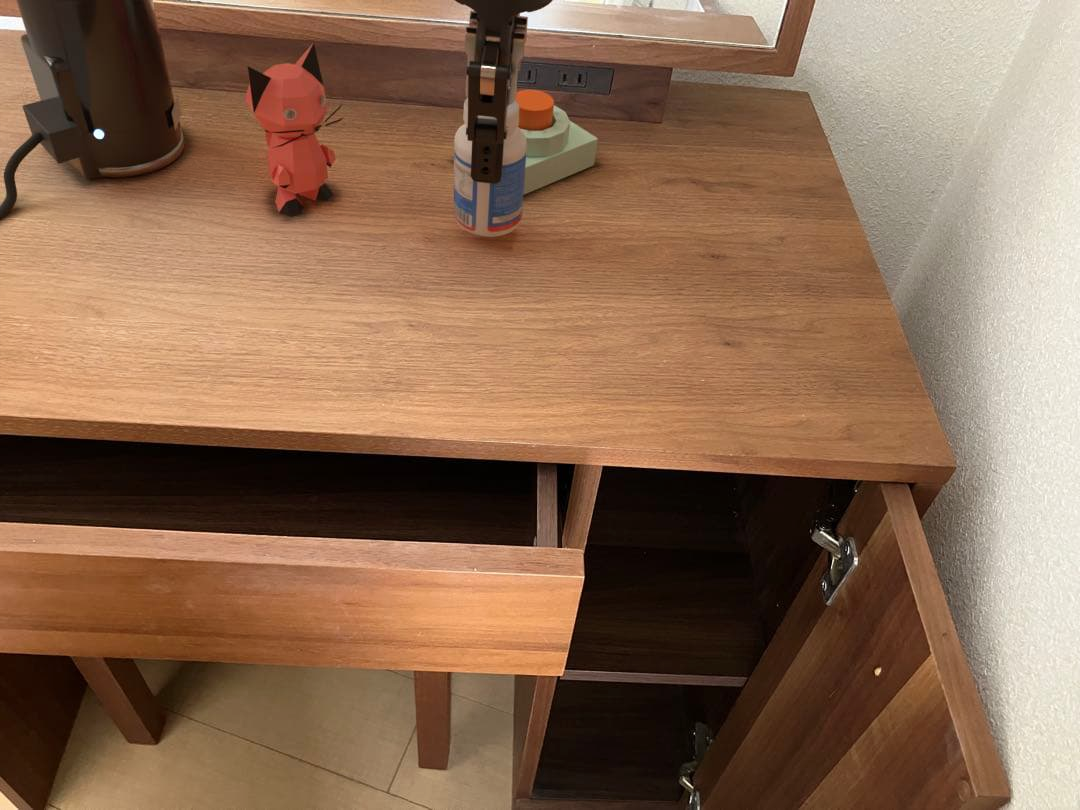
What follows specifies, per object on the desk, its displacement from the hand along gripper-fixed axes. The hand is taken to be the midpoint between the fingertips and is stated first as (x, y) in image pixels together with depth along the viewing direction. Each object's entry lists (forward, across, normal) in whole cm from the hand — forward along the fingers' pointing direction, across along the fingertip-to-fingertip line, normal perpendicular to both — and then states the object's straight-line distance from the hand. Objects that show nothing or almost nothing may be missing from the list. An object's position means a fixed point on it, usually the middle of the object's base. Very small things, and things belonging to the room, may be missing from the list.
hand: (489, 157), depth 67 cm
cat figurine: (+7, -2, -16) cm, 17 cm away
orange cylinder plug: (+3, -11, +3) cm, 11 cm away
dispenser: (+7, -11, +3) cm, 13 cm away
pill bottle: (+6, 0, 0) cm, 6 cm away
